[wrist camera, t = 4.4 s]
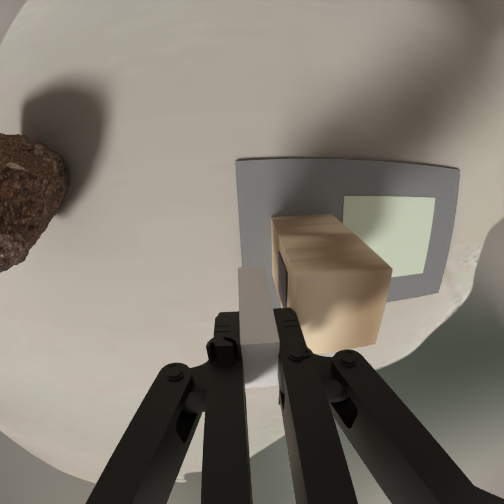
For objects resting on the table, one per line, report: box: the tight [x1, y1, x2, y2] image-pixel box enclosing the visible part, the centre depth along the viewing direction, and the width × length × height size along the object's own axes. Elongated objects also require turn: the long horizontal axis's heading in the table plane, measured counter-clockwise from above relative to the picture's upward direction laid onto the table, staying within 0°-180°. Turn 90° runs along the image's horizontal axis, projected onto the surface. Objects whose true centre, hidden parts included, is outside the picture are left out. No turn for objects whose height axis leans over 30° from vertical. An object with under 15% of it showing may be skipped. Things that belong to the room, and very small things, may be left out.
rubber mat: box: [236, 158, 460, 309], centre depth 23 cm, size 22×14×1 cm, turn 93°
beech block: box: [271, 214, 393, 354], centre depth 18 cm, size 5×5×10 cm
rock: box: [0, 133, 69, 272], centre depth 14 cm, size 12×10×10 cm
